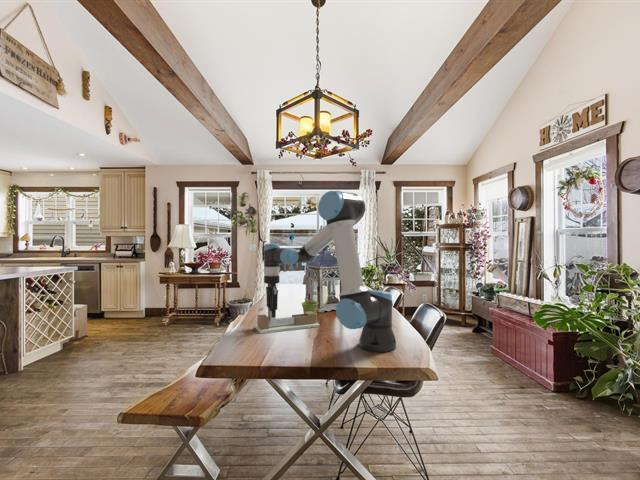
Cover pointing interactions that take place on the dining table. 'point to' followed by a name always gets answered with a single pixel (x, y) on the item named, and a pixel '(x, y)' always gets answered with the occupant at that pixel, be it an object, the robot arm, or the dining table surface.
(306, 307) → the plant pot
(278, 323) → the slide bar
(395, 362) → the dining table surface
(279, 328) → the board
